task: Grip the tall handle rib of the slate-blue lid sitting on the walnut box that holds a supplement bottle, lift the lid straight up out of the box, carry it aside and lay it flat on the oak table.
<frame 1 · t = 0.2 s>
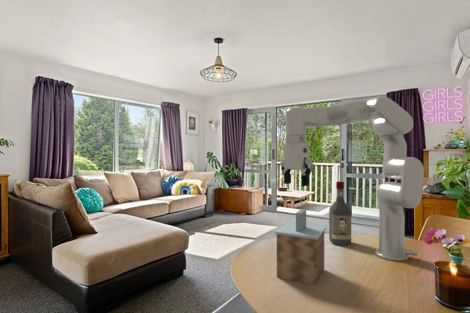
hand: (296, 184, 110), 32 cm above the table, tool pointing down, fingers open, 9 cm apart
supplement bottle: (301, 273, 105), resting in crate
liquor: (340, 243, 140), on the table
crate: (301, 273, 105), on the table
lid: (301, 231, 104), point 15 cm above the table, touching crate
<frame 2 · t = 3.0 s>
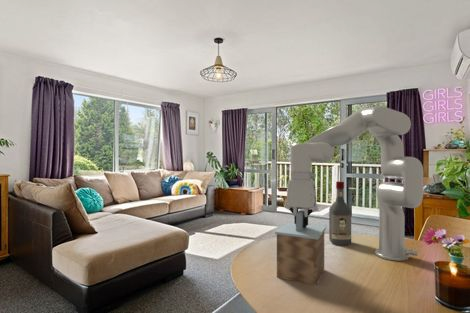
hand: (301, 226, 104), 17 cm above the table, tool pointing down, fingers closed on lid
lid: (301, 231, 104), point 16 cm above the table, touching gripper
everything else where it was.
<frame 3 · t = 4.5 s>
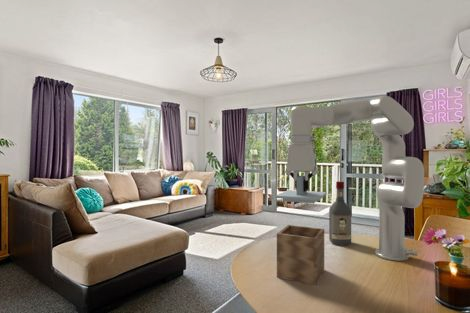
hand: (301, 190, 104), 30 cm above the table, tool pointing down, fingers closed on lid
lid: (301, 195, 104), point 28 cm above the table, touching gripper
everything else where it was.
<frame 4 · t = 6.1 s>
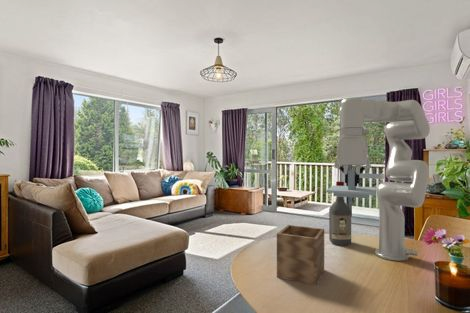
hand: (352, 185, 101), 33 cm above the table, tool pointing down, fingers closed on lid
lid: (352, 191, 101), point 31 cm above the table, touching gripper
everything else where it was.
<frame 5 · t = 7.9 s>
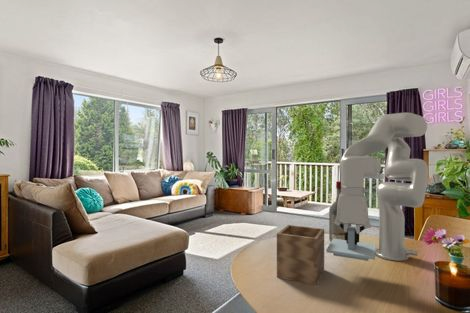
hand: (351, 242, 101), 12 cm above the table, tool pointing down, fingers closed on lid
lid: (351, 249, 101), point 10 cm above the table, touching gripper
everything else where it was.
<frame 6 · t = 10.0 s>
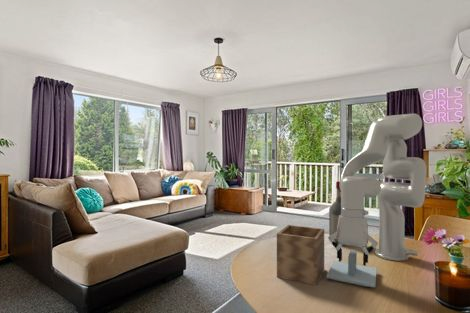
hand: (352, 262, 101), 5 cm above the table, tool pointing down, fingers open, 7 cm apart
lid: (352, 273, 101), point 1 cm above the table
everything else where it was.
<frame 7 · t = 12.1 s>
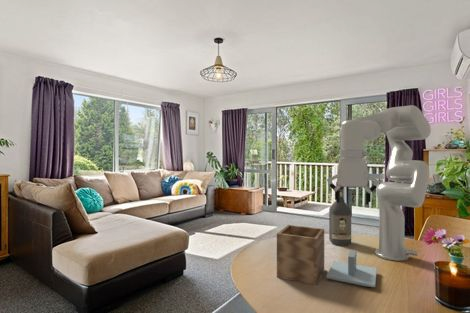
hand: (352, 203, 101), 26 cm above the table, tool pointing down, fingers open, 9 cm apart
nothing on the table moved.
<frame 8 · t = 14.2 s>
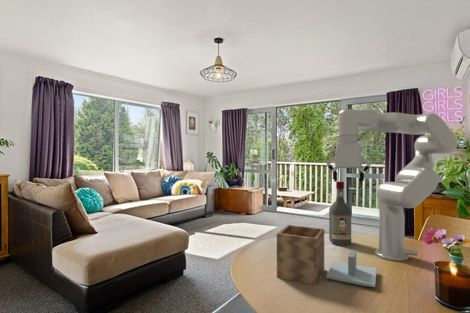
hand: (348, 181, 116), 32 cm above the table, tool pointing down, fingers open, 9 cm apart
nothing on the table moved.
at the end: lid inside the target area (0.1 cm from its centre), point 1.1 cm above the table; lid tilted 0°; lid touching table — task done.
